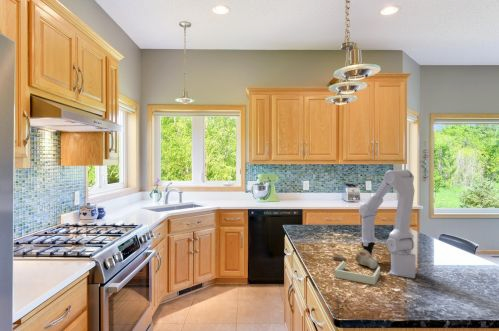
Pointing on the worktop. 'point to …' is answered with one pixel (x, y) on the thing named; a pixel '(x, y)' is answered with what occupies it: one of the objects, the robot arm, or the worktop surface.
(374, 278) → the beige u-shaped block
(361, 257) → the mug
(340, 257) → the walnut tile
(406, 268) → the robot arm
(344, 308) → the worktop surface
